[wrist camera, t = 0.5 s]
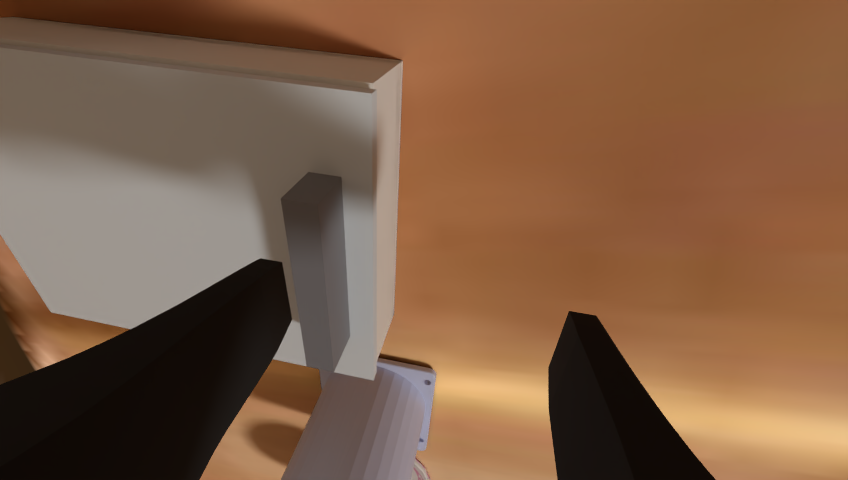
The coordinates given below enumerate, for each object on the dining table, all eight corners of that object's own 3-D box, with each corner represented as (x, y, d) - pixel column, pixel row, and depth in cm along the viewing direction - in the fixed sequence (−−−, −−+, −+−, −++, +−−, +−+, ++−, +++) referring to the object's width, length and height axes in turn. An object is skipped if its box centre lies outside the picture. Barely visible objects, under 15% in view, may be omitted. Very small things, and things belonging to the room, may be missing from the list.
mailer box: (393, 313, 24) (374, 368, 20) (124, 262, 26) (68, 304, 22) (402, 60, 16) (373, 83, 12) (13, 16, 18) (-100, 26, 15)
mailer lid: (376, 372, 20) (360, 417, 18) (59, 306, 22) (13, 339, 20) (376, 89, 12) (348, 112, 10) (-113, 30, 14) (-217, 39, 12)
